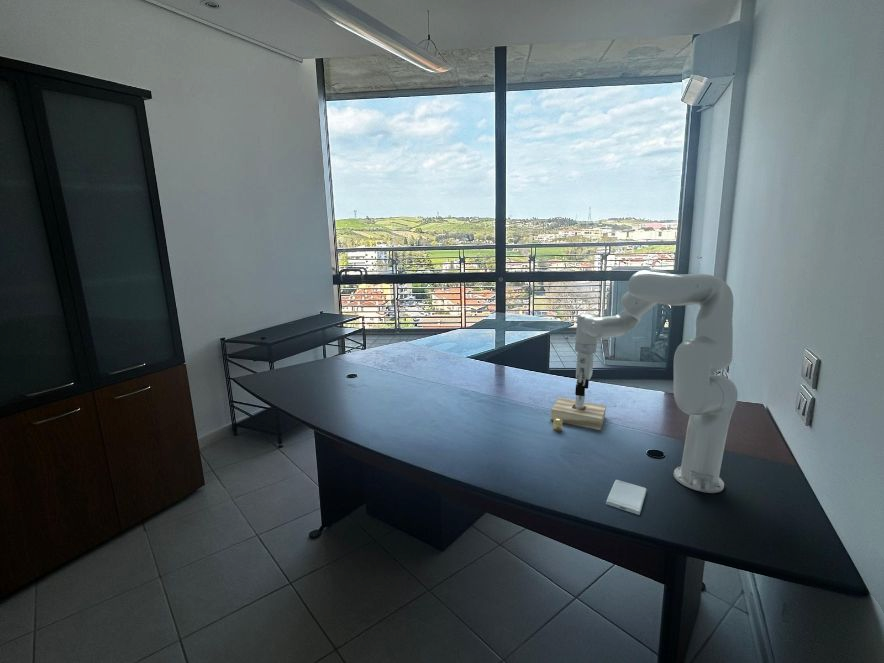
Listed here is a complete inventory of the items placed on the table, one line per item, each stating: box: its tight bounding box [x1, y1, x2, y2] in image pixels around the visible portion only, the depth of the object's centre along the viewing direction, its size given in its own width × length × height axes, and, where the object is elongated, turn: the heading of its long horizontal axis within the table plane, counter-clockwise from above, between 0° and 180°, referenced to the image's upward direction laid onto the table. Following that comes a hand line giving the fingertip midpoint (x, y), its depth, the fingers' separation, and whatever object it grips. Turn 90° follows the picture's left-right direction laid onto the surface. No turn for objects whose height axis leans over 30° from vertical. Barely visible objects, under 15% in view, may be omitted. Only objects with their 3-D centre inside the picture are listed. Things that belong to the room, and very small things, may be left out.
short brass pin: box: [552, 417, 564, 432], centre depth 157 cm, size 3×3×4 cm
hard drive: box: [605, 479, 648, 516], centre depth 117 cm, size 2×8×12 cm
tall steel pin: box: [575, 394, 586, 410], centre depth 167 cm, size 3×3×10 cm
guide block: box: [550, 396, 607, 431], centre depth 167 cm, size 14×18×4 cm
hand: (581, 391), depth 165 cm, fingers open, 9 cm apart
